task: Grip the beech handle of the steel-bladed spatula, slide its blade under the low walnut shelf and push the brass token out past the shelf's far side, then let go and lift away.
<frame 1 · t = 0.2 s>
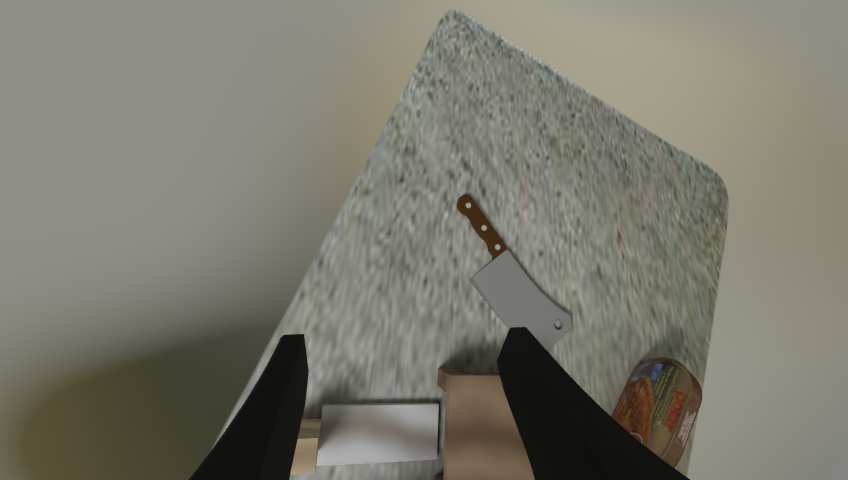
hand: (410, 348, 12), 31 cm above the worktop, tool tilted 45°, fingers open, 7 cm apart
kitchen cleaver: (498, 277, 47), on the worktop
spatula: (305, 433, 38), on the worktop
tin: (626, 404, 48), on the worktop
low shelf: (478, 428, 42), on the worktop
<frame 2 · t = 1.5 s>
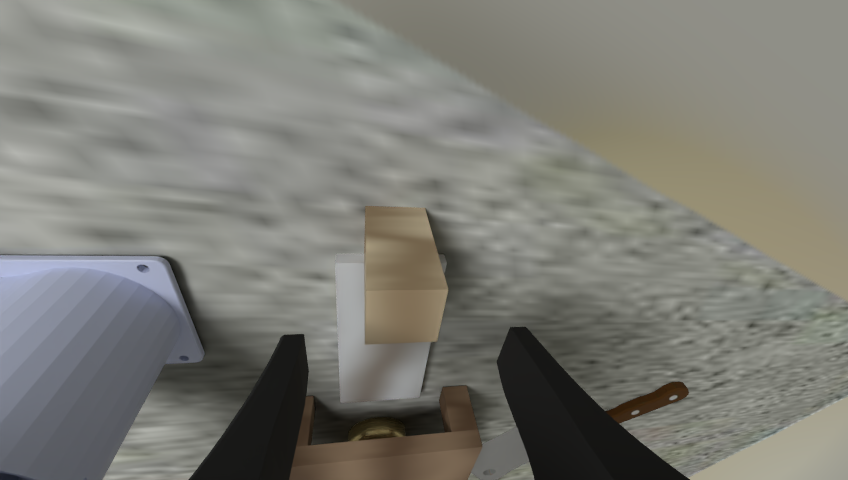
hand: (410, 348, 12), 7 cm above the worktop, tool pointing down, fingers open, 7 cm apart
kitchen cleaver: (560, 419, 35), on the worktop
spatula: (393, 231, 18), on the worktop
brass token: (376, 429, 30), on the worktop
low shelf: (377, 426, 30), on the worktop
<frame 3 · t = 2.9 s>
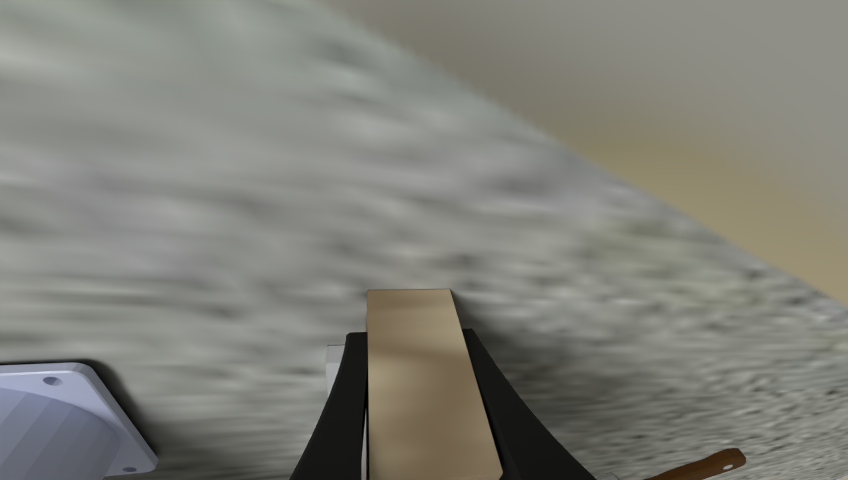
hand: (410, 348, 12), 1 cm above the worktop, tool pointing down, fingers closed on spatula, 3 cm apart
spatula: (405, 318, 13), on the worktop, touching gripper
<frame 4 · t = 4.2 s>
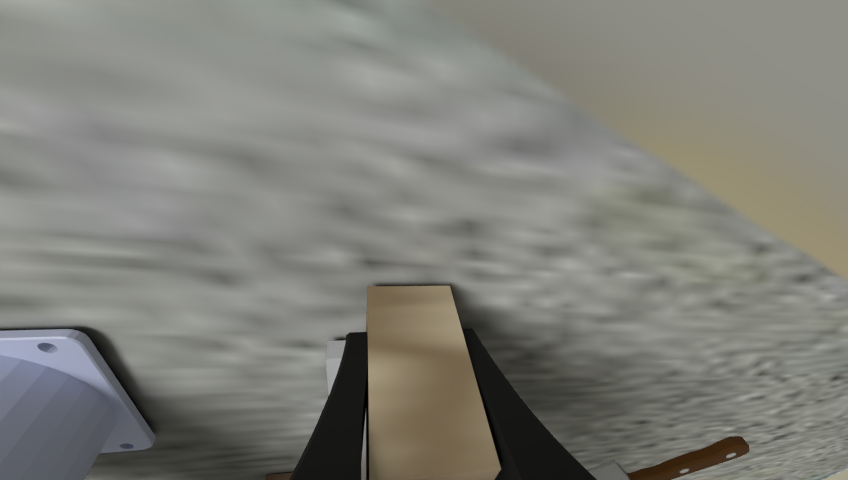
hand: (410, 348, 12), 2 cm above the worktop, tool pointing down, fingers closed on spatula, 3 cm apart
kitchen cleaver: (594, 475, 30), on the worktop
spatula: (405, 313, 13), on the worktop, touching gripper
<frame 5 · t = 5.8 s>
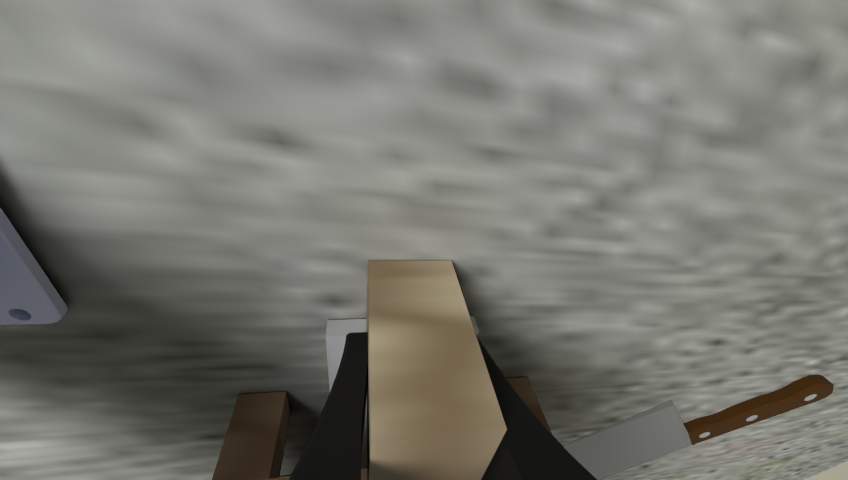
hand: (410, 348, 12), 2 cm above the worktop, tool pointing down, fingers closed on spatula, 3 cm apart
kitchen cleaver: (640, 426, 25), on the worktop
spatula: (407, 291, 13), on the worktop, touching brass token, gripper
low shelf: (387, 439, 20), on the worktop
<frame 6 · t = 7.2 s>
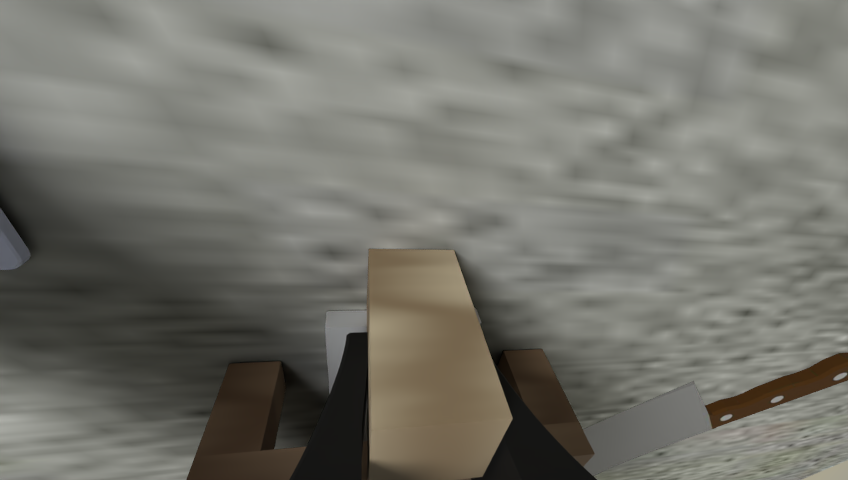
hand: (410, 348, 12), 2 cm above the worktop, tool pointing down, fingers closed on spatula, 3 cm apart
kitchen cleaver: (657, 409, 24), on the worktop
spatula: (408, 281, 13), on the worktop, touching gripper
low shelf: (391, 418, 18), on the worktop
when the fingers open (2 cm above the worktop, at t = 7.8 s): spatula stays where it is, on the worktop.
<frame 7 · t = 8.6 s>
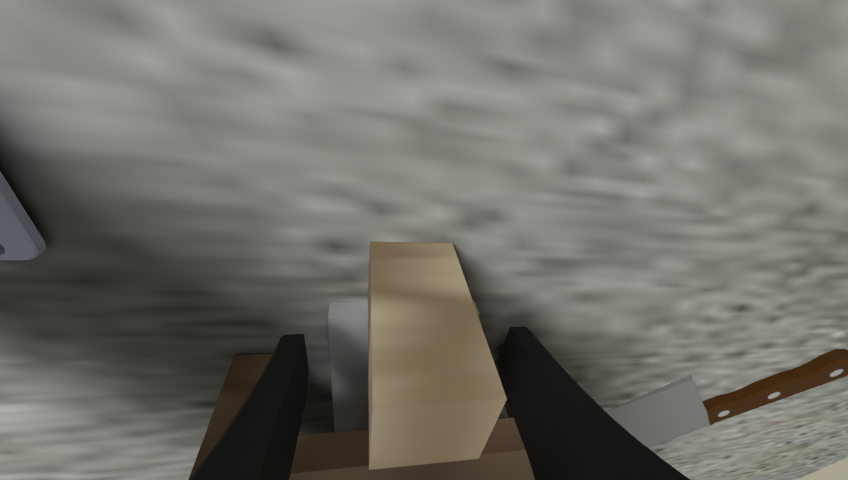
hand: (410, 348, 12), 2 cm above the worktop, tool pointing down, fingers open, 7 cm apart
kitchen cleaver: (655, 405, 24), on the worktop
spatula: (408, 274, 13), on the worktop
low shelf: (391, 411, 19), on the worktop
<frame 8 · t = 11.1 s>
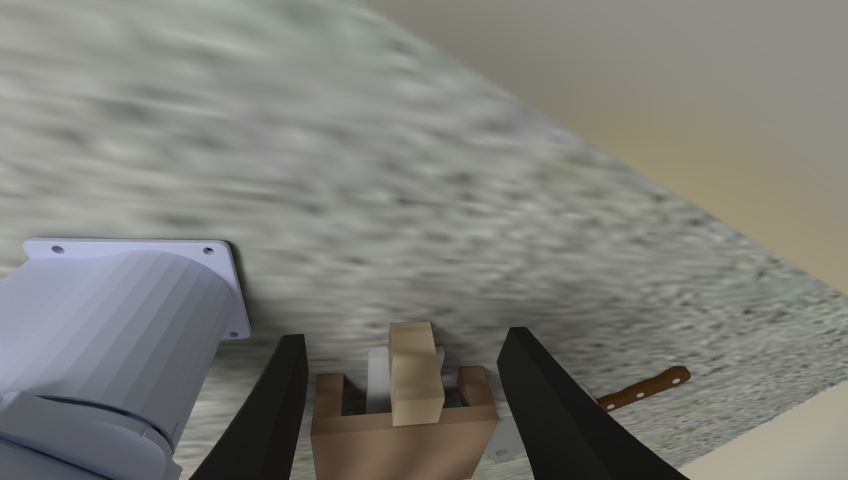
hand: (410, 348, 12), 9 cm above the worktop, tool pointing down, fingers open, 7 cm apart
kitchen cleaver: (569, 401, 37), on the worktop
spatula: (408, 335, 26), on the worktop
low shelf: (398, 405, 32), on the worktop
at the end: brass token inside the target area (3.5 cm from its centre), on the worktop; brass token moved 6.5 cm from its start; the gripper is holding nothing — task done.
